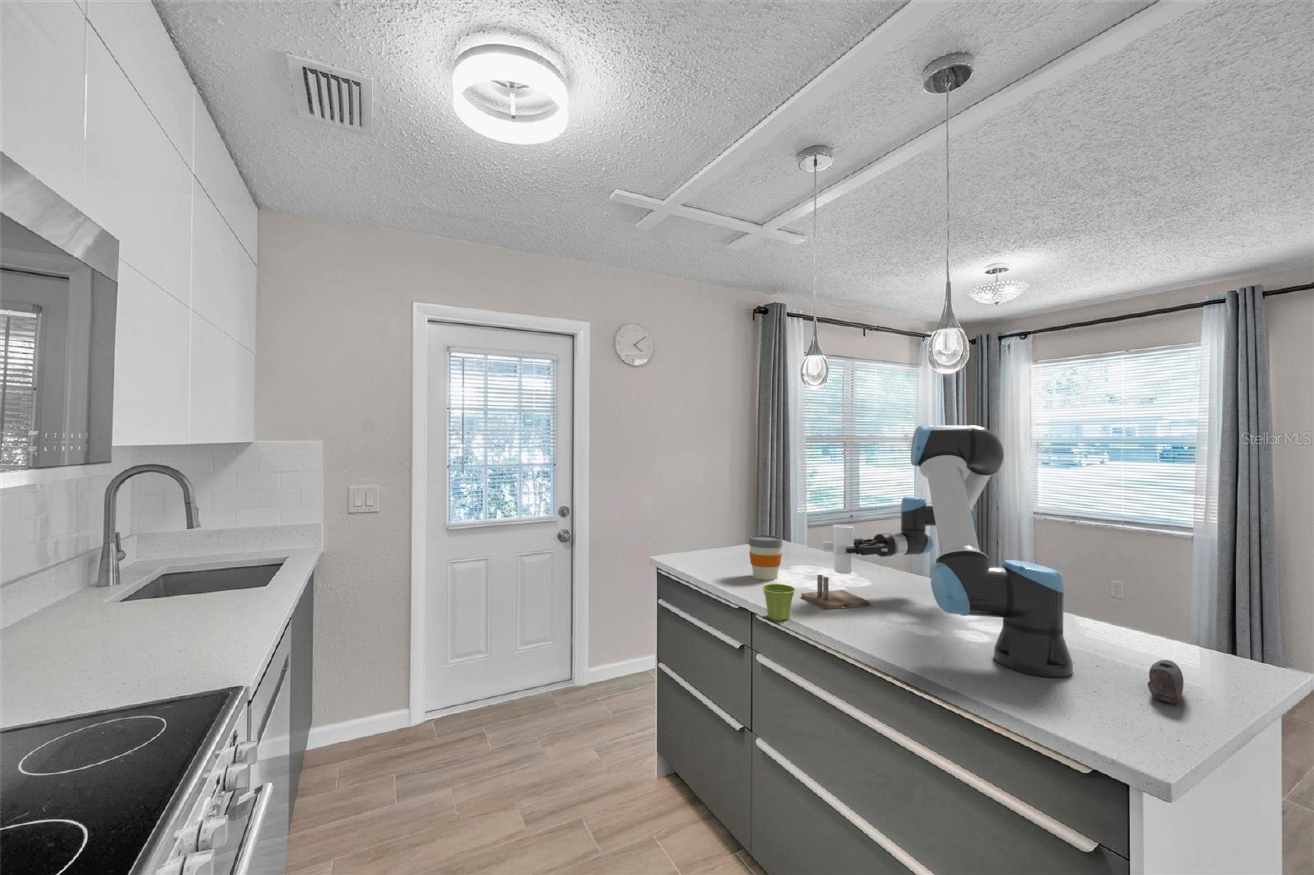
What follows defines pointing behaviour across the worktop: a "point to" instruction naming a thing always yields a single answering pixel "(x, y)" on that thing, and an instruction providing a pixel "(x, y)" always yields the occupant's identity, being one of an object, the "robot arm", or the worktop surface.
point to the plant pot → (778, 600)
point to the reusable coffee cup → (765, 556)
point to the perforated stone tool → (1166, 681)
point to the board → (833, 596)
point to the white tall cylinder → (842, 537)
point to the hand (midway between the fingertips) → (829, 548)
